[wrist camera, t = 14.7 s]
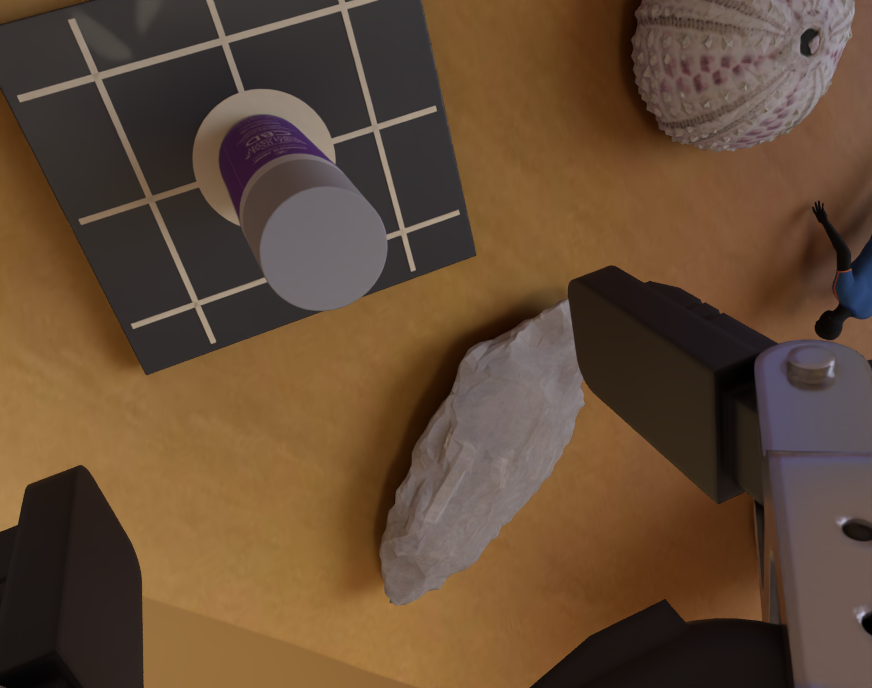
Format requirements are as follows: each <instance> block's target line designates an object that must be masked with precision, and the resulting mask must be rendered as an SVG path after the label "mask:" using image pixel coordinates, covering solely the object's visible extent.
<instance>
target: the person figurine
mask: <svg viewBox="0 0 872 688" xmlns="http://www.w3.org/2000/svg"><path fill="white" fill-rule="evenodd" d="M823 206H824V203H822V209H821V207H820V201H818V206H817V203H816V202H815V207H816V211H817V212H816V211H815V209H814V207H812V209H813V212H814V213H815V215H816V218H817V220H818V221H819V222H820V223H822V225H823V226H824V228H825V230H826V232H827V234H828V236H829V238H830V240H831V242H832V245H833V247H834V249H835V250H836V253H837V271H836V276H835V279H834V281H833V286H832V289H833V293H834V295H835V297H836V298H837V299H838V301H839V305H838V307H837V308H836V309H835V310H834V311H830V310H828V311H826V312H824V313H823V314H822V315H821V316H820V319H819V320H818V321H816V324H815V332H816V334H817V335H818V336H819V337H821V338H823V339H826V340H834V339H836V338H837V337H838V336H839V335H840V333H841V331H842V326H843V322H844V321H845V320H846V319H847V318H848V317H854V318H857V319H867V318H869V317H871V316H872V235H871V238H870V240H869V241H868V242H867V244H866V245H865V247H864V248H863V250H862V252H861V253H860V255H859V256H858V257H857V258H856V260H855V261H853V262H852V263H851V253H850V250H849V248H848V247H847V245H846V243H845V242H844V240H843V239H842V238H841V236H840V235H839V234H838V232H837V231H836V230H835V229H834V227H833V226H832V225H831V224H830V222H829V221H828V219H827V214H826V212H825V211H824V207H823Z"/></svg>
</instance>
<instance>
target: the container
mask: <svg viewBox="0 0 872 688" xmlns="http://www.w3.org/2000/svg"><path fill="white" fill-rule="evenodd" d="M218 161H219V168H220V172H221V176H222V178H223V181H224V184H225V186H226V189H227V192H228V194H229V197H230V199H231V202H232V205H233V207H234V210H235V213H236V215H237V218H238V220H239V223H240V226H241V228H242V231H243V234H244V236H245V238H246V240H247V242H248V244H249V246H250V248H251V250H252V252H253V254H254V256H255V258H256V260H257V262H258V264H259V266H260V268H261V271H262V273H263V275H264V277H265V279H266V281H267V282H268V284H269V285H270V287H271V288H272V289H273V290H274V291H275V293H277V294H278V295H279V296H280V297H281V298H282V299H284V300H285V301H287V302H289V303H290V304H292V305H294V306H297V307H300V308H303V309H307V310H313V311H327V310H334V309H338V308H341V307H344V306H347V305H349V304H351V303H353V302H355V301H356V300H358V299H359V298H361V297H362V296H363V295H364V294H366V293H367V292H368V291H369V290H370V289H371V287H372V286H373V285H374V284H375V282H376V281H377V279H378V278H379V276H380V274H381V272H382V270H383V267H384V264H385V261H386V256H387V235H386V231H385V227H384V225H383V222H382V220H381V218H380V216H379V215H378V213H377V212H376V210H375V209H374V208H373V207H372V205H371V204H370V203H369V202H368V201H367V200H366V199H365V197H364V196H363V195H362V194H361V193H360V192H359V190H358V189H357V188H356V187H355V186H354V185H353V184H352V182H351V181H350V180H349V179H348V178H347V177H346V175H345V174H344V173H343V172H342V171H341V170H340V169H339V168H338V167H337V166H336V165H335V164H334V163H333V162H332V161H331V160H330V159H329V158H328V157H327V156H326V155H325V154H324V153H323V152H322V151H321V150H320V149H319V148H318V147H317V146H315V145H314V144H313V143H312V142H311V141H310V140H309V139H308V138H307V137H306V136H305V135H304V134H303V133H302V132H301V131H300V130H299V129H298V128H297V127H296V126H294V125H293V124H292V123H290V122H289V121H287V120H285V119H283V118H281V117H278V116H275V115H270V114H256V115H252V116H248V117H246V118H243V119H241V120H240V121H238V122H237V123H235V124H234V125H233V126H232V127H231V128H230V129H229V130H228V131H227V133H226V134H225V136H224V138H223V140H222V142H221V145H220V149H219V156H218Z"/></svg>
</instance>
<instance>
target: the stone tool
mask: <svg viewBox="0 0 872 688" xmlns="http://www.w3.org/2000/svg"><path fill="white" fill-rule="evenodd" d="M583 380H584V378H583V376H582V374H581V372H580V369H579V366H578V362H577V357H576V349H575V342H574V335H573V328H572V321H571V314H570V307H569V300H568V299H567V298H566V299H564V300H560V301H559V302H558V303H557V304H555V305H554V306H553V307H551V308H548V309H545V310H543V311H542V312H541V313H540V314H539V315H537V316H536V317H534V318H533V319H526V320H524V321H522V322H521V323H520V324H519V325H517V326H516V327H515V328H514V329H512V330H510V331H508V332H506V333H504V334H502V335H500V336H498V337H497V338H495V339H493V340H489V341H484V342H480V343H478V344H476V345H474V346H473V347H471V348H469V350H468V351H467V353H466V355H465V356H464V358H463V360H462V361H461V363H460V365H459V367H458V372H457V377H456V380H455V383H454V385H453V388H452V390H451V392H450V394H449V396H448V397H447V398H446V399H445V400H444V401H443V402H442V403H441V405H440V407H439V408H438V410H437V411H436V413H435V414H434V415H433V416H432V417H431V419H430V421H429V424H428V426H427V428H426V430H425V431H424V433H423V434H422V435H421V437H420V438H419V439H418V441H417V443H416V445H415V447H414V449H413V452H412V465H411V468H410V470H409V472H408V475H407V477H406V478H405V480H404V481H403V482H402V484H401V485H400V487H399V488H398V489H397V491H396V495H395V500H396V501H395V505H394V506H393V507H392V508H391V509H390V510H389V512H388V518H387V525H386V530H385V532H384V534H383V536H382V539H381V545H380V552H379V556H380V559H381V562H382V570H381V573H382V577H383V580H384V590H385V594H386V595H387V596H388V597H389V599H390V603H393V604H395V605H405V604H408V603H410V602H413V601H415V600H417V599H418V598H420V597H421V596H422V595H424V594H425V593H426V592H428V591H432V590H439V589H440V588H441V586H442V584H443V583H444V581H445V580H446V579H447V578H448V577H449V576H450V575H452V574H454V573H457V572H460V571H463V570H466V569H467V568H468V567H470V566H471V565H472V564H474V563H475V562H476V561H477V560H478V558H479V557H480V555H481V553H482V552H483V551H484V549H485V548H486V546H487V545H488V543H489V542H490V541H491V540H493V539H494V538H496V537H498V535H499V531H500V529H501V527H502V526H504V525H505V524H506V523H508V522H510V521H511V520H512V518H513V516H514V515H515V514H516V513H517V512H518V511H519V510H520V509H521V508H522V507H523V506H524V505H525V504H526V503H527V502H528V500H529V499H530V498H531V496H532V495H533V494H535V493H536V492H537V491H538V490H539V488H540V486H541V485H542V483H543V482H544V481H545V480H546V479H547V478H548V477H550V475H551V473H552V471H553V467H554V465H555V464H556V462H557V461H558V459H559V458H560V457H561V456H562V453H563V449H564V447H565V446H566V445H567V444H568V443H569V442H570V440H571V437H572V434H573V431H574V427H575V418H576V416H577V414H578V412H579V410H580V408H582V407H583V406H584V405H585V403H584V401H583V398H584V394H583V392H582V390H581V384H582V382H583Z"/></svg>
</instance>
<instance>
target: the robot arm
mask: <svg viewBox="0 0 872 688" xmlns="http://www.w3.org/2000/svg"><path fill="white" fill-rule="evenodd" d="M568 300H569V307H570V314H571V321H572V328H573V335H574V342H575V349H576V357H577V362H578V366H579V369H580V372H581V374H582V376H583V378H584V380H585V382H586V384H587V385H588V387H589V388H590V389H591V391H592V392H593V393H594V394H595V395H596V396H597V397H599V398H600V399H601V400H602V401H603V402H604V403H605V404H606V405H607V406H609V407H610V408H611V409H612V410H613V411H614V412H615V413H616V414H617V415H619V416H620V417H621V418H622V419H623V420H624V421H625V422H626V423H628V424H629V425H630V426H631V427H632V428H633V429H634V430H635V431H636V432H638V433H639V434H640V435H641V436H642V437H643V438H644V439H645V440H646V441H648V442H649V443H650V444H651V445H652V446H653V447H654V448H655V449H656V450H658V451H659V452H660V453H661V454H662V455H663V456H664V457H665V458H666V459H668V460H669V461H670V462H671V463H672V464H673V465H674V466H675V467H677V468H678V469H679V470H680V471H681V472H682V473H683V474H684V475H685V476H687V477H688V478H689V479H690V480H691V481H692V482H693V483H694V484H695V485H697V486H698V487H699V488H700V489H701V490H702V491H703V492H704V493H705V494H707V495H708V496H709V497H710V498H711V499H712V500H713V501H714V502H716V503H717V504H720V503H723V502H725V501H727V500H729V499H731V498H733V497H735V496H737V495H740V494H742V493H744V492H746V493H748V494H749V495H750V496H751V497H752V498H754V525H755V538H756V550H757V562H758V574H759V586H760V598H761V610H762V621H756V620H746V619H733V618H714V619H704V620H694V621H689V622H685V621H684V620H683V619H682V618H681V617H680V616H679V615H678V613H677V612H676V611H675V610H674V609H673V608H672V606H671V605H670V604H669V603H668V602H667V601H666V599H664V600H662V601H660V602H658V603H656V604H654V605H652V606H650V607H648V608H646V609H644V610H642V611H640V612H638V613H636V614H634V615H632V616H630V617H627V618H625V619H623V620H621V621H619V622H617V623H615V624H613V625H611V626H609V627H607V628H605V629H603V630H601V631H599V632H597V633H595V634H593V635H591V636H589V637H588V638H587V639H586V640H585V641H584V642H582V643H581V644H580V645H579V646H578V647H577V648H575V649H574V650H573V651H572V652H571V653H570V654H568V655H567V656H566V657H565V658H564V659H563V660H561V661H560V662H559V663H558V664H557V665H556V666H554V667H553V668H552V669H551V670H550V671H549V672H547V673H546V674H545V675H544V676H543V677H542V678H540V679H539V680H538V681H537V682H536V683H535V684H533V685H532V686H531V687H530V688H872V360H868V361H867V360H866V359H865V358H864V357H863V356H862V355H861V354H860V353H858V352H857V351H855V350H853V349H851V348H849V347H846V346H844V345H841V344H837V343H834V342H829V341H822V340H794V341H788V342H784V343H780V344H778V343H776V342H774V341H773V340H771V339H769V338H767V337H766V336H764V335H762V334H760V333H758V332H757V331H755V330H753V329H751V328H750V327H748V326H746V325H744V324H742V323H741V322H739V321H737V320H735V319H734V318H732V317H730V316H728V315H727V314H725V313H722V314H720V312H719V310H718V309H716V308H714V307H712V306H711V305H709V304H707V303H703V304H702V302H701V300H700V299H698V298H696V297H695V296H693V295H691V294H689V293H688V292H686V291H684V290H682V289H681V288H678V287H674V286H669V285H665V284H660V283H656V282H652V281H648V282H646V283H643V282H641V281H640V280H638V279H636V278H635V277H633V276H631V275H630V274H628V273H626V272H625V271H623V270H621V269H620V268H618V267H616V266H612V265H611V266H608V267H605V268H602V269H600V270H597V271H594V272H592V273H589V274H586V275H584V276H581V277H579V278H576V279H573V280H571V281H570V283H569V285H568ZM0 688H144V686H143V624H142V577H141V570H140V566H139V562H138V559H137V556H136V553H135V550H134V548H133V545H132V543H131V541H130V539H129V538H128V536H127V534H126V532H125V531H124V529H123V527H122V526H121V524H120V522H119V521H118V519H117V517H116V515H115V514H114V512H113V510H112V509H111V507H110V505H109V504H108V502H107V500H106V498H105V497H104V495H103V493H102V492H101V490H100V488H99V487H98V485H97V483H96V481H95V480H94V478H93V477H92V475H91V474H90V472H89V471H88V470H87V469H86V468H85V467H84V466H82V465H79V466H76V467H74V468H71V469H68V470H66V471H63V472H60V473H58V474H55V475H53V476H50V477H47V478H45V479H42V480H39V481H37V482H34V483H31V484H29V485H28V486H27V487H26V489H25V493H24V498H23V503H22V507H21V512H20V517H19V522H18V525H17V526H14V527H12V528H9V529H7V530H4V531H1V532H0Z"/></svg>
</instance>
